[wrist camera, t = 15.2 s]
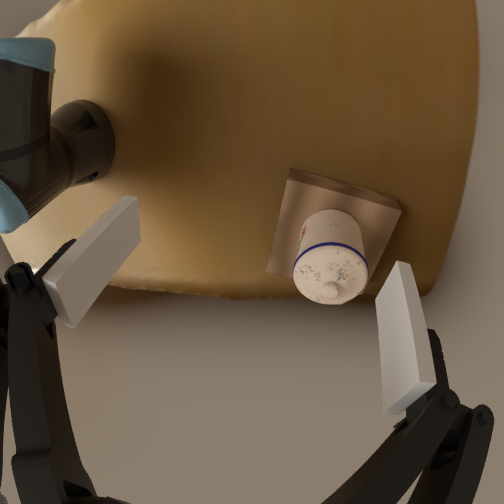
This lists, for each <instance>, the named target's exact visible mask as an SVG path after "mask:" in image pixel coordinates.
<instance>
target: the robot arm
mask: <svg viewBox="0 0 504 504" xmlns="http://www.w3.org/2000/svg"><path fill="white" fill-rule="evenodd" d="M55 51H56V47H55V44H54V42H53V41H52V40H51V39H49V38H43V37H19V38H0V233H4V234H8V233H11V232H13V231H14V230H16V229H17V228H18V227H20V226H21V225H22V224H24V223H27V222H28V221H29V219H31V218H32V217H33V216H34V215H35V214H36V213H37V212H39V211H40V210H41V209H42V208H43V207H45V206H46V205H47V204H48V203H49V202H51V201H52V200H53V199H54V198H56V197H57V196H58V195H59V194H61V193H62V192H63V191H64V190H66V189H67V188H70V187H74V186H78V185H82V184H87V183H90V182H92V181H94V180H96V179H97V178H99V177H100V176H102V175H103V174H104V173H105V172H106V171H107V170H108V169H109V167H110V165H111V163H112V160H113V157H114V151H115V141H114V135H113V131H112V128H111V125H110V123H109V121H108V119H107V117H106V116H105V114H104V113H103V112H102V111H101V110H100V109H99V108H98V107H97V106H96V105H94V104H92V103H90V102H88V101H84V100H77V101H73V102H70V103H67V104H65V105H63V106H61V107H60V108H58V109H57V110H56V111H55V112H54V113H53V114H52V115H51V100H52V87H53V77H54V73H55V69H54V62H55ZM140 241H141V234H140V222H139V208H138V197H134V196H130V195H124V196H123V197H122V198H121V199H120V200H119V201H118V202H117V203H116V204H114V205H113V206H112V207H111V208H110V209H109V210H108V211H107V212H106V213H105V214H104V215H102V216H101V217H100V218H99V219H98V220H97V221H96V222H95V223H94V224H93V225H92V226H91V227H90V228H89V229H88V230H87V231H86V232H85V233H84V234H83V235H82V236H81V237H80V238H79V239H78V240H77V239H72V240H70V241H68V242H67V243H65V244H64V245H63V246H62V247H61V248H60V249H59V250H58V251H57V252H56V253H55V254H54V255H53V256H52V258H50V259H49V260H48V261H47V262H46V263H45V264H44V265H43V266H42V267H41V269H40V270H39V271H38V272H37V273H36V274H35V275H34V274H33V272H32V269H31V267H30V265H29V264H28V263H25V262H19V263H16V264H14V265H12V266H11V267H9V268H8V270H7V271H6V272H5V275H4V277H5V279H6V282H7V284H3V282H2V280H1V279H0V487H1V480H2V467H3V434H4V420H5V410H6V401H7V392H8V386H9V397H10V408H11V417H12V425H13V432H14V438H15V444H16V454H15V455H14V456H13V457H12V461H11V464H12V470H13V475H14V479H15V483H16V487H17V491H18V494H19V498H20V501H21V504H130V503H128V502H125V501H121V500H117V499H114V498H111V497H107V498H106V497H98V496H97V494H96V492H95V489H94V486H93V484H92V481H91V479H90V477H89V475H88V474H87V473H86V471H85V469H84V468H83V465H82V463H81V460H80V456H79V453H78V449H77V446H76V442H75V439H74V434H73V431H72V427H71V422H70V418H69V414H68V409H67V404H66V399H65V393H64V388H63V382H62V376H61V369H60V362H59V354H58V345H57V335H56V325H55V321H54V319H55V318H56V316H57V315H58V316H59V318H60V321H61V323H62V324H64V325H66V326H68V327H70V328H73V329H75V328H76V326H77V325H78V323H79V322H80V321H81V319H82V318H83V316H84V315H85V313H86V312H87V311H88V309H89V308H90V306H91V305H92V304H93V302H94V301H95V300H96V298H97V297H98V295H99V294H100V292H101V291H102V290H103V289H104V287H105V286H106V285H107V283H108V282H109V281H110V279H111V278H112V277H113V275H114V274H115V273H116V272H117V270H118V269H119V268H120V266H121V265H122V264H123V263H124V261H125V260H126V259H127V257H128V256H129V255H130V254H131V252H132V251H133V250H134V249H135V247H136V246H137V245H138V244H139V243H140ZM375 300H376V309H377V320H378V330H379V343H380V356H381V376H382V414H389V415H399V414H400V413H402V412H403V411H404V410H406V417H405V418H404V419H403V420H402V421H400V422H399V423H397V424H396V425H395V426H393V427H394V428H395V430H394V431H393V432H392V433H391V434H390V436H389V437H388V438H387V439H386V440H385V441H384V443H383V444H382V445H381V446H380V447H379V448H378V449H377V450H376V452H375V453H374V454H373V455H372V456H371V457H370V458H369V459H368V460H367V461H366V462H365V463H364V464H363V465H362V466H361V467H360V468H359V469H358V470H357V471H356V472H355V473H354V474H353V475H352V476H351V477H350V478H349V479H348V480H347V481H346V482H345V483H344V484H343V485H342V486H341V487H340V488H338V489H337V490H336V491H335V492H334V493H333V494H332V495H331V496H329V497H328V498H327V499H326V500H325V501H324V502H323V503H321V504H396V503H397V502H398V501H399V500H400V499H401V497H402V496H403V495H404V493H406V491H407V490H408V489H409V487H410V486H411V485H412V484H413V482H414V481H415V480H416V478H417V477H418V476H419V474H420V473H421V472H422V470H423V472H422V474H421V476H420V478H419V480H418V482H417V485H416V487H415V489H414V491H413V493H412V495H411V497H410V499H409V501H408V503H407V504H472V502H473V500H474V497H475V494H476V491H477V488H478V485H479V482H480V479H481V475H482V472H483V468H484V465H485V461H486V457H487V453H488V449H489V445H490V441H491V436H492V431H493V426H494V417H493V413H492V411H491V410H490V408H489V407H487V406H486V405H483V404H482V405H478V406H477V407H476V408H474V409H471V408H468V407H466V406H464V405H462V404H460V400H459V398H458V396H457V395H456V393H455V392H454V391H452V390H451V389H449V384H448V378H447V373H446V367H445V362H444V360H443V358H444V357H443V352H442V347H441V344H440V339H439V337H438V336H437V334H436V332H435V331H434V330H432V329H427V328H426V323H425V319H424V314H423V310H422V306H421V302H420V298H419V294H418V290H417V287H416V283H415V279H414V276H413V272H412V269H411V266H410V264H408V263H404V262H401V261H396V263H395V265H394V267H393V269H392V271H391V272H390V274H389V276H388V278H387V280H386V282H385V283H384V285H383V287H382V289H381V290H380V292H379V294H378V296H377V297H376V299H375ZM0 504H8V503H7V500H6V498H5V497H4V496H3V495H2V494H1V492H0Z"/></svg>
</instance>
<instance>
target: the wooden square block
mask: <svg viewBox="0 0 504 504" xmlns="http://www.w3.org/2000/svg"><path fill="white" fill-rule="evenodd" d="M329 209H333V210H339V211H342V212H345V213H347V214H349V215H350V216H351V217H353V218H354V219H355V221H356V222H357V223H358V225H359V227H360V230H361V235H362V242H363V248H364V255H365V260H366V262H367V265H368V270H369V275H368V280H367V282H366V285H365V287H366V286H367V284H368V282H369V280H370V278H371V276H372V274H373V272H374V270H375V268H376V266H377V264H378V262H379V260H380V258H381V256H382V254H383V252H384V250H385V248H386V245H387V243H388V241H389V239H390V237H391V235H392V233H393V230H394V228H395V226H396V224H397V221H398V219H399V217H400V215H401V212H402V210H401V208H400V206H399V203H398V201H397V199H396V198H394V197H391V196H388V195H385V194H382V193H378V192H375V191H372V190H369V189H365V188H362V187H359V186H355V185H352V184H348V183H345V182H341V181H337V180H334V179H330V178H326V177H323V176H319V175H315V174H311V173H307V172H303V171H299V170H295V169H291V168H290V171H289V175H288V179H287V183H286V187H285V192H284V196H283V201H282V205H281V210H280V214H279V218H278V223H277V227H276V231H275V236H274V240H273V244H272V248H271V253H270V257H269V261H268V265H267V270H266V272H269V273H273V274H277V275H281V276H285V277H289V278H293V266H294V263H295V261H296V259H297V252H298V245H299V238H300V231H301V228H302V226H303V224H304V222H305V221H306V220H307V219H308V218H309V217H310V216H311V215H313V214H314V213H316V212H319V211H322V210H329ZM365 287H364V288H363V290H362V291H361V292H360V293H359V294H360V295H362V293H363V291H364V289H365Z"/></svg>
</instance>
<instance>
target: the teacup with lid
mask: <svg viewBox="0 0 504 504" xmlns="http://www.w3.org/2000/svg"><path fill="white" fill-rule="evenodd" d="M368 275H369V270H368V265H367V262H366V260H365V255H364V248H363V242H362V235H361V230H360V227H359V225H358V223H357V222H356V221H355V219H354V218H353V217H351V216H350V215H349V214H347V213H345V212H342V211H339V210H333V209H329V210H322V211H319V212H316V213H314V214H313V215H311V216H310V217H309V218H308V219H307V220H306V221H305V222H304V224H303V226H302V228H301V231H300V238H299V245H298V252H297V259H296V261H295V263H294V266H293V279H294V282H295V284H296V286H297V288H298V289H299V291H300V292H301V293H302V294H303V295H304V296H306V297H307V298H309V299H311V300H313V301H315V302H318V303H322V304H343V303H344V302H346V301H348V300H351V299H352V298H354V297H355V296H357V295H358V294H359V293H360V292H361V291H362V290H363V288H364V287H365V285H366V282H367V280H368Z"/></svg>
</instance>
